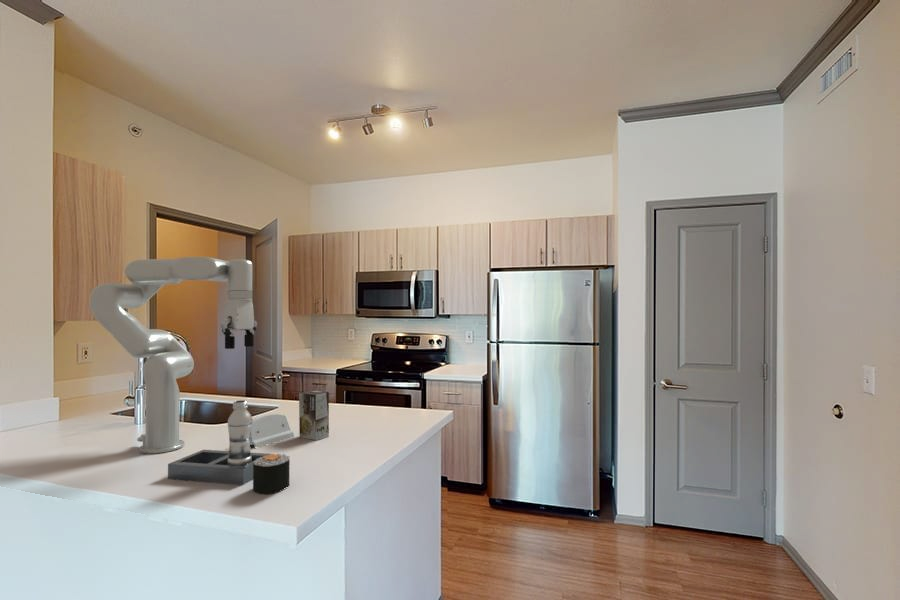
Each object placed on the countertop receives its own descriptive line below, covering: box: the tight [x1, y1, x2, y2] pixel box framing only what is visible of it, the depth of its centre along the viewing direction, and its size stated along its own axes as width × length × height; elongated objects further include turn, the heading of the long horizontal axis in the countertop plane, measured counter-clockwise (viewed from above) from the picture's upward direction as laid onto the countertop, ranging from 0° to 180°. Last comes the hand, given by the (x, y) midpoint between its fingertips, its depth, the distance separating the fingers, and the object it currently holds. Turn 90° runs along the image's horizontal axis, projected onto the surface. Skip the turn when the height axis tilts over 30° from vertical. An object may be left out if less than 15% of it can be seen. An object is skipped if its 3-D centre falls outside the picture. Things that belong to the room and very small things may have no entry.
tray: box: [167, 449, 271, 485], centre depth 126 cm, size 23×13×4 cm, turn 79°
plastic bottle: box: [227, 399, 254, 466], centre depth 125 cm, size 6×7×20 cm
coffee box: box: [298, 389, 330, 441], centre depth 163 cm, size 9×6×16 cm
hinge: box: [250, 414, 295, 448], centre depth 158 cm, size 17×5×10 cm, turn 150°
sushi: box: [252, 453, 291, 495], centre depth 115 cm, size 8×8×8 cm
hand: (239, 347), depth 150 cm, fingers open, 9 cm apart
